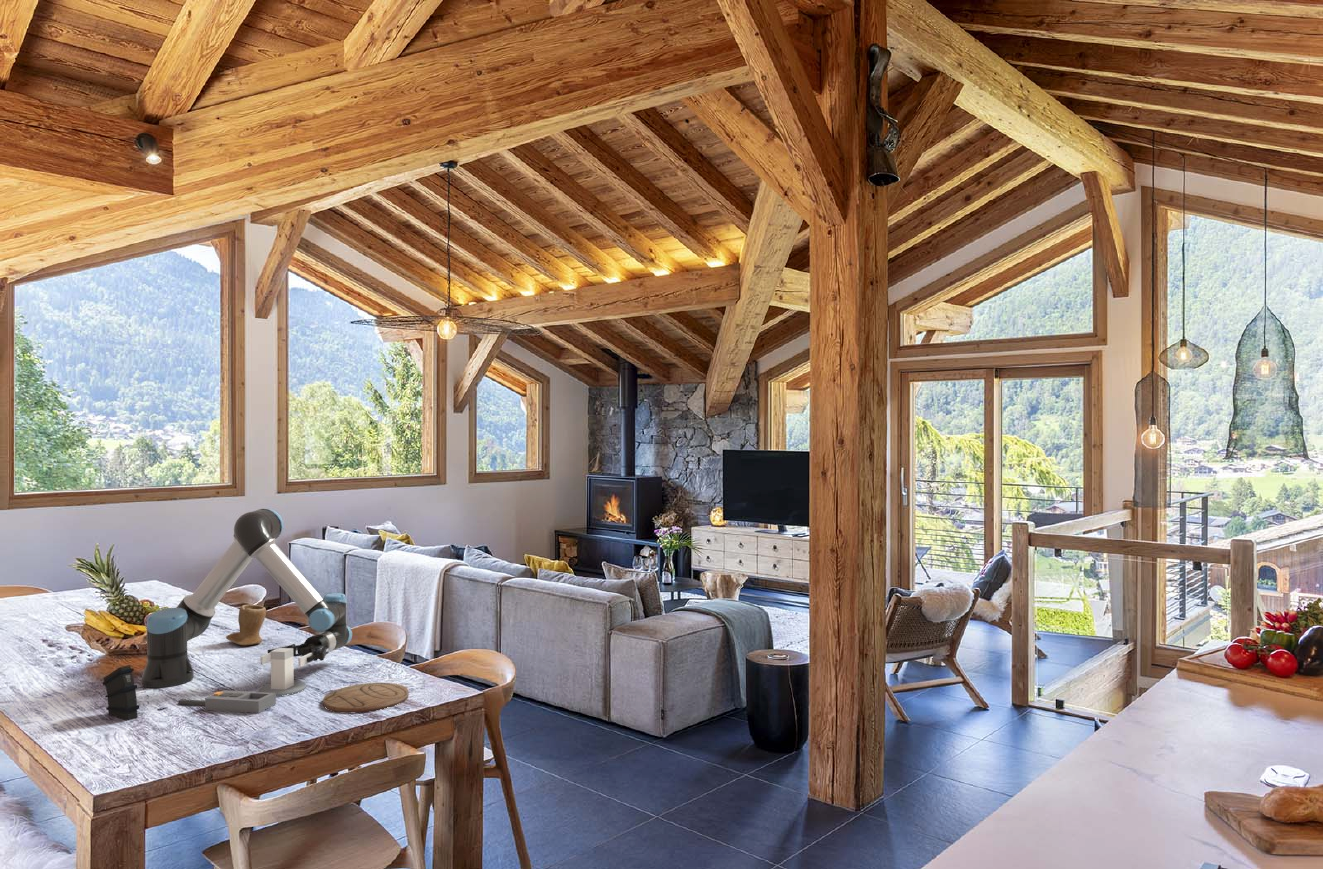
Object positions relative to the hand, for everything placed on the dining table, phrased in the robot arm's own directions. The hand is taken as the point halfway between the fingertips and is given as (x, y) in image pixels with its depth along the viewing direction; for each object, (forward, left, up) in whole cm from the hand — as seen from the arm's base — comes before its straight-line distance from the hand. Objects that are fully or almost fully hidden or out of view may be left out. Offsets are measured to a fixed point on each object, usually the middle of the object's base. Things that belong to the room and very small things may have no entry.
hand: (280, 661), depth 273 cm
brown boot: (-73, +21, -10) cm, 76 cm away
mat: (-1, +1, -10) cm, 10 cm away
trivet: (+29, +13, -10) cm, 34 cm away
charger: (-1, +1, -9) cm, 9 cm away
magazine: (-14, -41, -10) cm, 44 cm away
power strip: (+1, -18, -10) cm, 20 cm away
